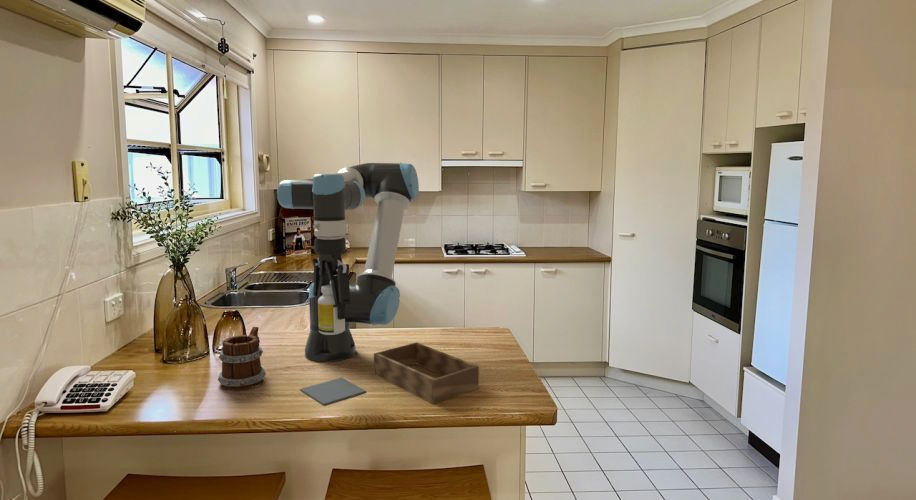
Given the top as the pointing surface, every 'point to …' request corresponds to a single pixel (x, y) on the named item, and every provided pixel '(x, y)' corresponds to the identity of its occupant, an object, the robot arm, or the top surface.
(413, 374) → the box frame
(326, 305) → the pill bottle
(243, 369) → the mug
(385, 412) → the top surface
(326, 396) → the slate mat
